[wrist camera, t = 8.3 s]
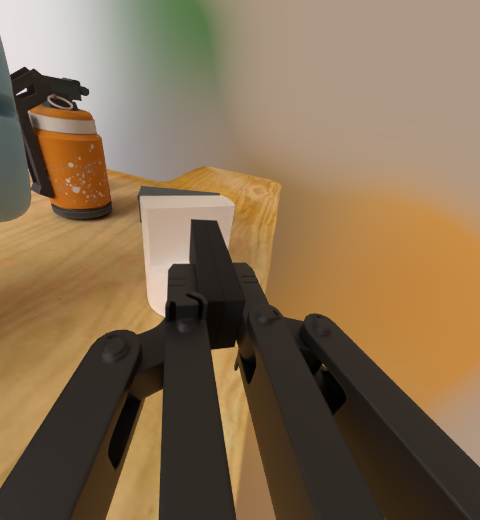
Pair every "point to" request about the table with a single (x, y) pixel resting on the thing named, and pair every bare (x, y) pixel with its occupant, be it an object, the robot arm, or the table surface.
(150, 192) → the pencil box
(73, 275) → the table surface
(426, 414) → the robot arm
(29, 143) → the canister
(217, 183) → the table surface
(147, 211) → the cylinder with rectangular tab
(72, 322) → the table surface
